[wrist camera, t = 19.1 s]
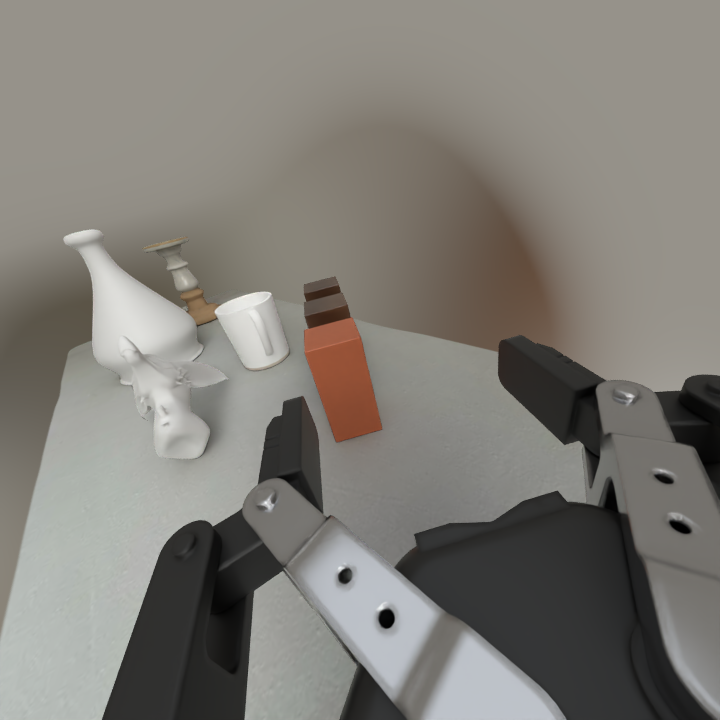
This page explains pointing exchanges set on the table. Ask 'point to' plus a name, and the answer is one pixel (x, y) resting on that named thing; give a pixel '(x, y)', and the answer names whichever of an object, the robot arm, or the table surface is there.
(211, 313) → the candle holder
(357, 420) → the terracotta block
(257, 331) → the mug
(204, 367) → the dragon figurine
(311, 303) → the walnut block mid
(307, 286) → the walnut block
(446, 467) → the table surface
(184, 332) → the vase
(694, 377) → the robot arm
